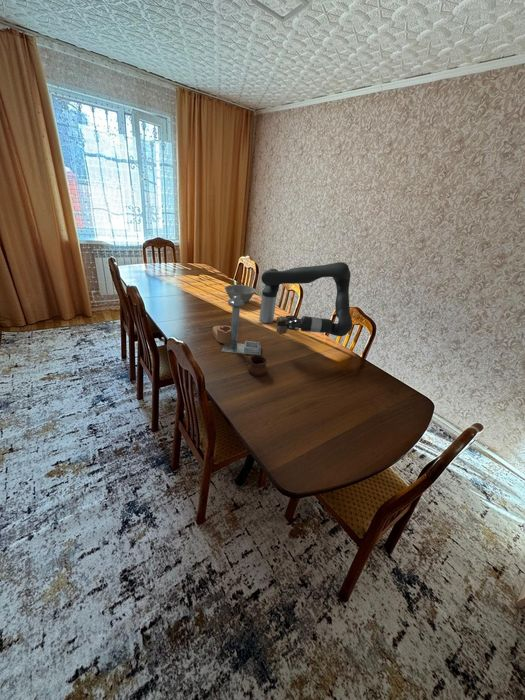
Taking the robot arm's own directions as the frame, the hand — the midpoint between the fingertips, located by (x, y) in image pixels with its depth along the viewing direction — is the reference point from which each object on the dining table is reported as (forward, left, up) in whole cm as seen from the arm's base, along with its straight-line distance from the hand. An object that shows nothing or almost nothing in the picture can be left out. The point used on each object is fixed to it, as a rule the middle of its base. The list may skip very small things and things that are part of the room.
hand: (277, 321), depth 142 cm
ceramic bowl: (-73, -23, -18) cm, 79 cm away
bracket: (-12, -28, -18) cm, 36 cm away
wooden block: (0, +3, -6) cm, 7 cm away
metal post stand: (0, -16, -18) cm, 24 cm away
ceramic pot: (+20, -8, -18) cm, 29 cm away
